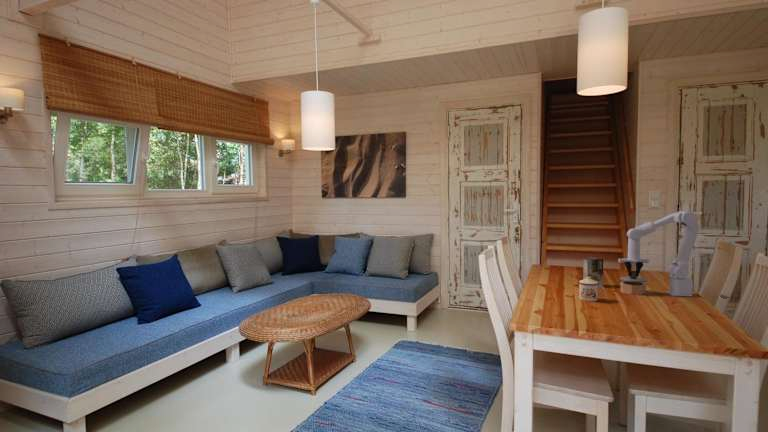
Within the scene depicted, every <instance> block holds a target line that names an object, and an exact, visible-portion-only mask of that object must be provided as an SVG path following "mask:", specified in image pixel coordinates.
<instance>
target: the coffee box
mask: <svg viewBox="0 0 768 432" xmlns="http://www.w3.org/2000/svg"><path fill="white" fill-rule="evenodd" d="M582 264H583V266H582V268H583V272H582V273H583V276H582V277H583V278H582V280H583V279H586V278H587V277H591V279H593V280H594V281H597V282H598V283H599V284H598V286H602V287H604V259H603V258H601V257H596V256H595V257H593V256H592V257H583V263H582Z"/></svg>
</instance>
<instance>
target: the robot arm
mask: <svg viewBox="0 0 768 432" xmlns="http://www.w3.org/2000/svg"><path fill="white" fill-rule="evenodd" d="M670 223H680V224H681V225H682V226H683V228H684V229H685V232H684V235H683V239H682V241H681V243H680V247H679V249H678V252H677V255H676V258H674V260H673V261H672V263H671V264H670V265H669V266H668V272H669V274H670V275H669V290H667V291H665V293H667V294H668V295H670V296H672V297H673V296H674V297H693V281H692V278H690V277H688V275H689V258H690V257H691V254H692V251H693V248H694V246H695V243H696V239H697V237H698V235H699V231H700V226H699V222H698V217H697V215H696V214H695V213H694V212H692V211H690V210H689V211H686V210H678V211H674V212H673V213H670V214H668V215H666V216H664V217H661V218H660V219H657V220H656V221H654V222H651V221H645V222H643V223H642V224H641V225H638V226H634V227H633V228H630V229H628V231H627V232H626V237H627V238H628V239H627V241H628V242H627V258H626V257H625V258H623V257H622V258H618V259H617V260H618V263H620V264H622V263H623V264H624V266H625V269H626V271H627V275H628V276H627V277H630V276H631V271H632V266H633V265H632V263H633V264H635V271H637V277H639V274H640V271H641V270H642V268H643V267H644V264H650V259H649V258H648V259H647V258H641V239H642V238H643V237H645V236H648V235H649V234H652V233H654V232H655V233H656V230H657V229H658V228H661V227H662V226H665V225H668V224H670Z"/></svg>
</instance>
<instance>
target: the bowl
mask: <svg viewBox="0 0 768 432" xmlns="http://www.w3.org/2000/svg"><path fill="white" fill-rule="evenodd" d="M619 290H620V292H621V293H623V294H627V295H631V296H634V295H635V296H643V295H646V294H647V293H646V292H647V284H646V283H645V282H628V281H622V280H621V281H620V289H619Z"/></svg>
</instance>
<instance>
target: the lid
mask: <svg viewBox="0 0 768 432" xmlns="http://www.w3.org/2000/svg"><path fill="white" fill-rule="evenodd" d="M619 280H620V281H621V282H622V281H628V282H642V283H647V282H648V279H647V278H645V277H639V276H638V277H637V271H636V270H631V276H621V277H619Z"/></svg>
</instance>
